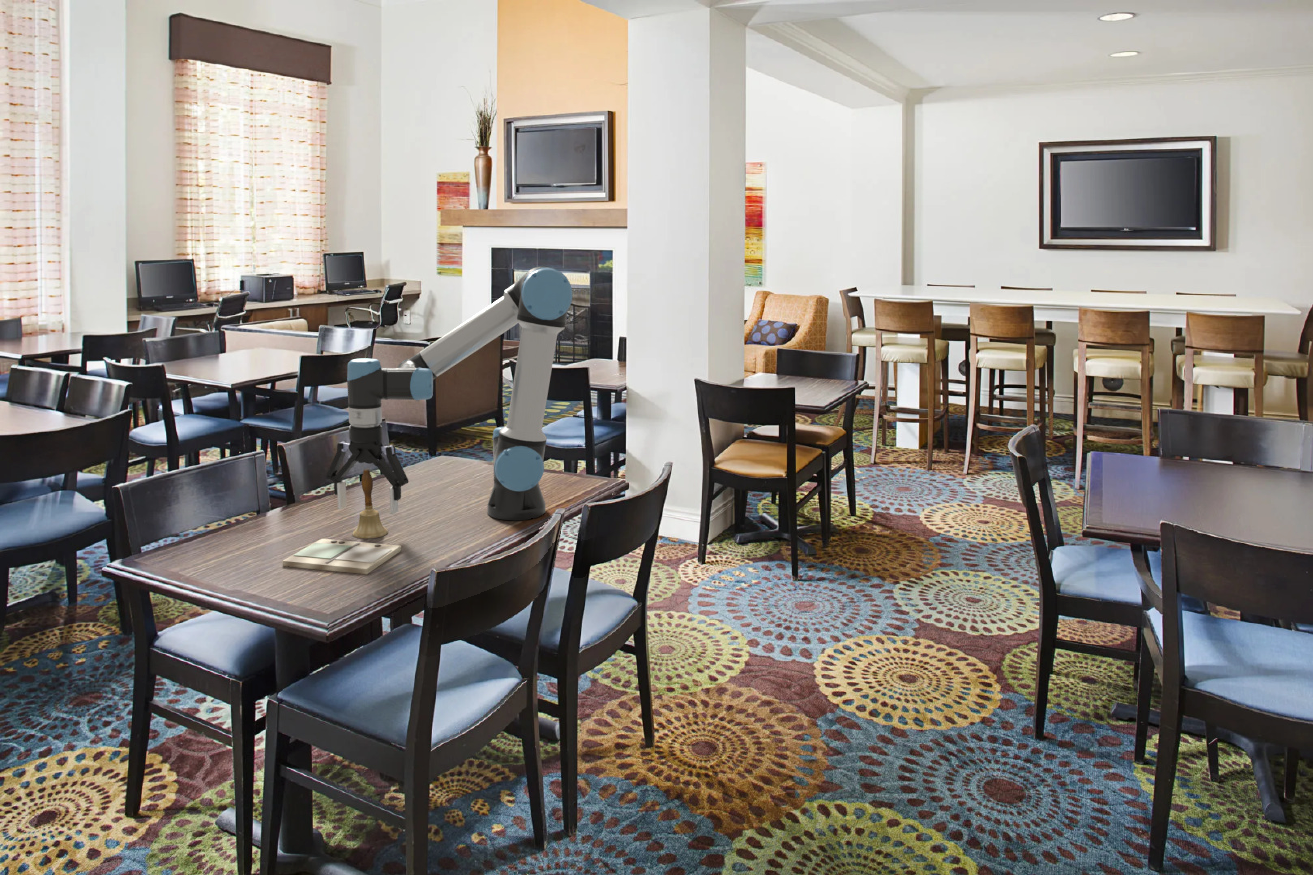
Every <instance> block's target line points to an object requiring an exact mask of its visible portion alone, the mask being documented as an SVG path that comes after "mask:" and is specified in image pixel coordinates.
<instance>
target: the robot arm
mask: <svg viewBox="0 0 1313 875" xmlns="http://www.w3.org/2000/svg"><path fill="white" fill-rule="evenodd" d="M572 302H573V289H572V285H571V282H570V281H569V279H568V277H567V276H566V275H565V274H564V273H563V272H562V271H560V270H558V268H557V269H556V268H553V267H551V266H546V265H542V266H536V267H533V268H530V269H529V270H528V271H527V272H526V273H524V274H523V276H521V277H520V278H519V279H518V280H516V282H514V283H513V284H512V285H510V286H508V287H507V288H506V289H505V290H504V292H503V295H502V296H501V297H500V298H498V299H497V300H495V301H494V302H493V303H491V304H489V305H488V306H487V307H485V308H483V309H482V310H480V311H478V312H477V313H476V314H474V315H472V317H470V318H468V319H467V320H465V321H464V322H462V323H461V324H459V325H458V326H456V327H455V328H453V329H452V330H450V331H449V332H447V333H446V334H445V335H443V336H441V337H440V338H438V339H437V340H435V341H434V342H431V344H429V345H428V346H426V347H424V348H423V349H422V350H421V351H419V352H417V353H416V354H414V355H413V356H412V357H410V358H407V359H405V360H403V361H401V363H399V364H398V366H397V367H382V365H381V360H379V359H377V358H370V357H369V358H366V357H365V358H354V359H350V361H349V362H348V363H347V372H346V374H347V375H346V376H347V379H346V384H347V398H348V399H347V401H348V404H347V405H348V407H347V408H348V423H349V424H350V425H349V426H348V438H349V441H350V442H349V443H347V441H346V440H345V441H344V440H343V441H341V442H338V443H337V447H336V453H335V455H334V458H333V460H332V461H331V465H330V466H329V469H328V471H327V473H326V475H325V478H326V479H327V480H329V481H332V482H333V487H334V488H333V490H334V491H333V492H334V495H335V496H337V510H339V511H340V510H343V509H345V508H347V481H346V480H344V478H345V476H347V474H348V473H349V472H350V471H351V469H353V467H354V466H355V465H356V463H359V464H364V463H365V464H370V465H371V464H373V465H374V466H375V467H377V469H378V470H379V471H380V472H381V474H382V475H383V477H385V479H386V481H387V482H389V484H390V485H391V487H389V515H396V513H398V512H399V500H401V498H402V487H403V486H405V485H406V484H409V482H410V481H409V478H408V477H407V474H406V472H405V470H404V468H403V466H402V464H401V462H400V460H399V458H398V456H397V453H396V451H397V450H396V446H395V445H394V444H391V445H386V446H385V445H383V426H382V424H381V423H382V421H383V414H382V410H383V409H382V400H387V401H388V400H396V401H397V400H398V401H399V400H401V401H402V400H403V401H404V400H405V401H406V400H407V401H420V400H430V399H432V398H433V395H434V394H433V392H434V380H435V379H436V378H437V377H439V376H440V375H443V373H445V372H446V371H448V370H449V369H451V368H453V367H455V365H457V364H459V363H460V362H462V361H463V360H464V359H466V358H469V356H470V355H472V354H474V353H475V352H477V351H479V350H480V349H482V348H483V347H484V346H485V345H488V344H489V343H490V342H492V341H493V340H495V339H497V338H499V336H501V335H502V334H504V333H506V332H508V330H510V329H512V328H514V326H516V325H518V324H519V326H520V327H521V332H520V337H519V344H518V351H517V358H516V364H515V369H514V377H513V382H512V389H511V397H510V402H509V403H510V404H509V408H508V415H507V421H506V425H505V426H499V427H495V428H494V429H493V432H492V446H493V447H492V450H493V451H492V452H493V456H492V457H493V458H492V459H493V462H492V463H493V486H492V489H491V491H490V492H491V493H490V496H489V498H488V502H487V506H486V507H487V508H486V509H487V515H488V516H489V517H491V518H494V519H497V520H502V521H503V520H504V521H523V520H532V519H531V518H533V519H537V518H539V516H540V517H542V516H543V514H544V513H545V514H546V501H545V499H544V495H543V493H542V490H541V486H540V481H541V480H542V478H543V475H544V472H545V464H544V457H545V451H546V445H547V436H546V435H545V433H544V432H543V424H544V418H545V413H546V407H547V400H548V393H549V388H550V381H551V376H552V368H553V363H554V357H555V351H556V344H557V338H558V334H559V333H561V332H562V331H564V329H565V328H566V323H567V316H568V311H569V309H570V307H571V304H572ZM348 451H350V454H351V455H350V457H349V458H347V461H346V462H345V464H344V465H343V466H342V467H341V465H342V462H343V460H344V459H345V455H346V453H347V452H348ZM383 453H384V455H385V456H386V458H387V461H388V462H386V458H385V457H384V456H383V455H382V454H383ZM388 463H389V464H388ZM340 467H341V469H340ZM339 469H340V470H339ZM545 514H544V515H545ZM541 515H542V516H541Z"/></svg>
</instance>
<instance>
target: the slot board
mask: <svg viewBox="0 0 1313 875" xmlns="http://www.w3.org/2000/svg"><path fill="white" fill-rule="evenodd" d="M401 551H402V545H396V544H386V543H376V542H375V543H374V542H373V543H372V542H361V541H350V540H341V539H331V538H329V539H328V538H319V540H317V541H315V542H313V543H312V544H310V545H308V546H307V547H306V546H305V548H303V549H301V550H299V551H297V552H296V553H293V554H292V555H290V556H289V557H287V558H285V559H283V560H282V562H281V563H282V567H288V566H289V568H298V569H299V568H300V569H309V570H319V571H329V572H330V571H332V572H341V573H342V572H343V573H351V574H363V575H368V574H369V573H371V572H373V571H374V570H375V569H376V568H378V567H380V566H381V565H383V564H384V563H386V562H387V561H389V560H390V559H391V558H392V557H394V556H396V555H398V554H399V553H400V552H401Z"/></svg>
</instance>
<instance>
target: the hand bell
mask: <svg viewBox="0 0 1313 875" xmlns="http://www.w3.org/2000/svg"><path fill="white" fill-rule="evenodd" d="M361 488H362V491H363V494H364V508H365V509H363V510H362V511H360V512H359V518H358V523H357V527H356V529H354V530H353V532H352V536H353V537H355V538H357V539H365V540H366V539H367V540H368V539H369V540H370V539H376V538H382V537H384V536H386V535H387V534H388V533H389V530H388V529H387V528H386V527H385V526H384V524H383V522H382V521H381V518H380V513H379V511H378V510H376V509H374V508H373V500H372V498H373V497H372V493H373V488H374V481H373V477H372V474H371V472H370V469H368V468H365V469H363V473H362V476H361Z"/></svg>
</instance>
